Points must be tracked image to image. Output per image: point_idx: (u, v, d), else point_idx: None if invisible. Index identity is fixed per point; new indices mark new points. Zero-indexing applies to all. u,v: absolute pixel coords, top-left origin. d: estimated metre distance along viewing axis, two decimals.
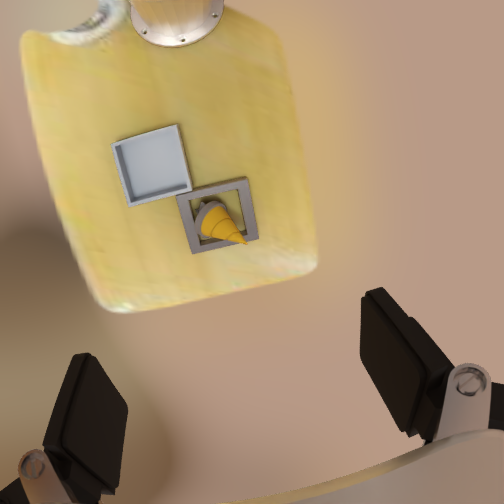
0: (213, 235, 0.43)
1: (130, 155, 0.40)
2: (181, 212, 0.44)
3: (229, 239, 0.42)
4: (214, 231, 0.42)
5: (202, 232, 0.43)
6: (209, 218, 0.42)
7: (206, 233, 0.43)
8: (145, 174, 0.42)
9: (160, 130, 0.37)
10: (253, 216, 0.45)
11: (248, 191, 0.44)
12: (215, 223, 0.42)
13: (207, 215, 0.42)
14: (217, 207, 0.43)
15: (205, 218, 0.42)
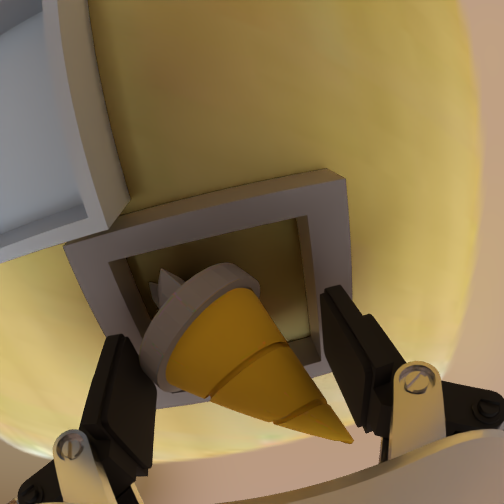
0: (216, 403, 0.10)
1: None
2: (93, 303, 0.11)
3: (282, 425, 0.09)
4: (221, 399, 0.09)
5: (174, 386, 0.10)
6: (196, 352, 0.09)
7: (189, 392, 0.10)
8: None
9: None
10: None
11: (344, 226, 0.11)
12: (223, 373, 0.09)
13: (184, 337, 0.09)
14: (228, 297, 0.10)
15: (178, 351, 0.09)
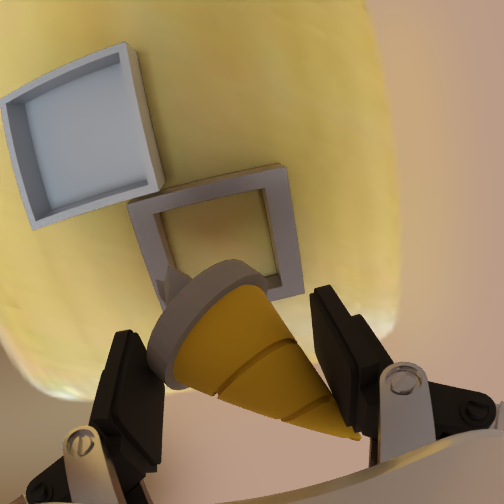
0: (224, 400, 0.10)
1: (42, 123, 0.16)
2: (140, 240, 0.19)
3: (290, 422, 0.09)
4: (228, 396, 0.09)
5: (182, 383, 0.11)
6: (203, 349, 0.09)
7: None
8: (68, 160, 0.18)
9: (91, 57, 0.13)
10: (296, 248, 0.21)
11: (287, 194, 0.20)
12: (231, 370, 0.09)
13: (192, 334, 0.09)
14: (236, 294, 0.10)
15: (186, 348, 0.09)
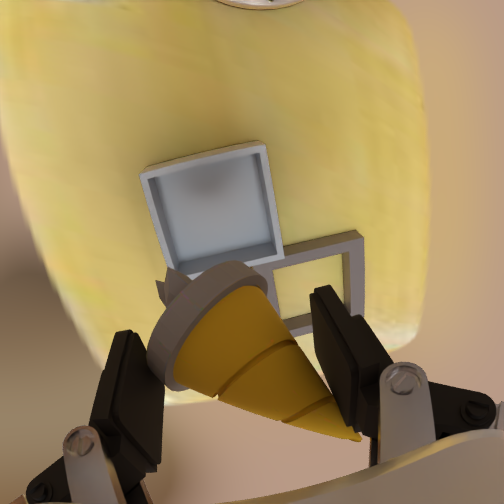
0: (224, 401, 0.10)
1: (172, 192, 0.24)
2: None
3: (290, 424, 0.09)
4: (229, 398, 0.09)
5: (182, 385, 0.10)
6: (203, 351, 0.09)
7: (197, 391, 0.10)
8: (199, 225, 0.26)
9: (235, 153, 0.21)
10: (363, 289, 0.29)
11: (362, 254, 0.28)
12: (231, 372, 0.09)
13: (191, 336, 0.09)
14: (236, 295, 0.10)
15: (186, 350, 0.09)
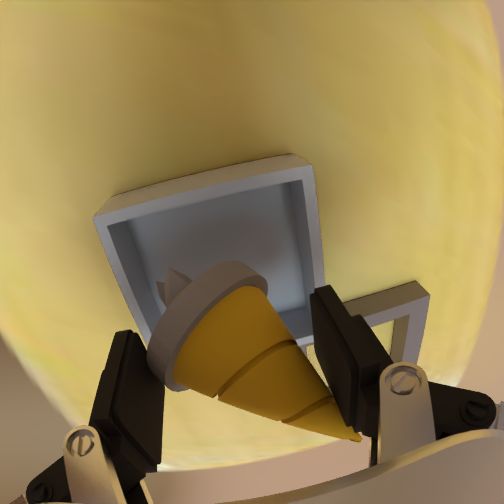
0: (224, 402, 0.10)
1: (154, 238, 0.15)
2: None
3: (290, 424, 0.09)
4: (229, 398, 0.09)
5: (182, 385, 0.10)
6: (204, 351, 0.09)
7: (197, 391, 0.10)
8: None
9: (260, 180, 0.12)
10: (417, 354, 0.20)
11: (424, 316, 0.19)
12: (231, 372, 0.09)
13: (192, 336, 0.09)
14: (236, 295, 0.10)
15: (186, 350, 0.09)
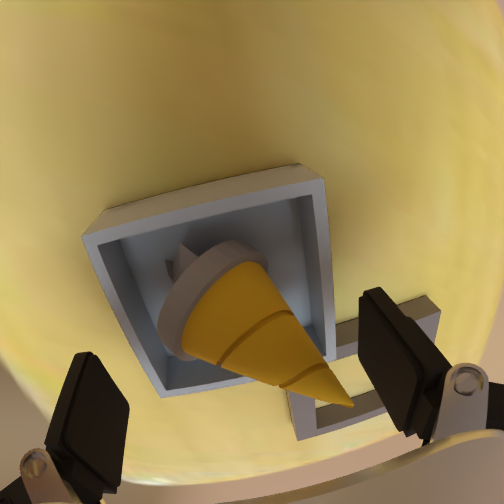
0: (227, 368, 0.11)
1: (150, 256, 0.14)
2: None
3: (288, 389, 0.11)
4: (232, 362, 0.11)
5: (188, 354, 0.12)
6: (211, 316, 0.10)
7: (202, 359, 0.12)
8: None
9: (266, 195, 0.11)
10: None
11: (434, 332, 0.17)
12: (236, 336, 0.10)
13: (201, 303, 0.10)
14: (241, 268, 0.11)
15: (195, 316, 0.10)
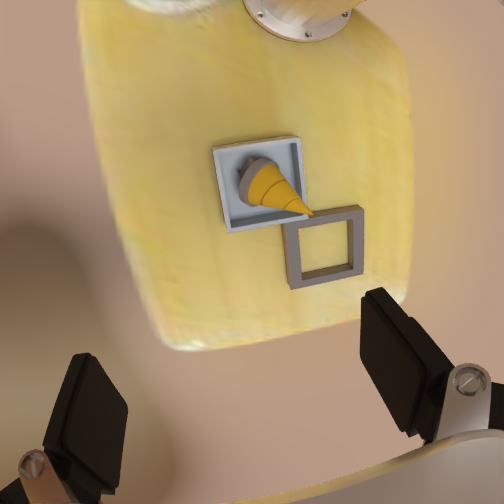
0: (264, 202, 0.31)
1: (230, 167, 0.34)
2: (288, 242, 0.37)
3: (287, 207, 0.31)
4: (267, 195, 0.31)
5: (249, 197, 0.32)
6: (261, 178, 0.30)
7: (254, 199, 0.31)
8: None
9: (280, 141, 0.31)
10: (362, 250, 0.39)
11: (362, 222, 0.37)
12: (269, 185, 0.30)
13: (258, 173, 0.30)
14: (271, 165, 0.31)
15: (256, 177, 0.30)
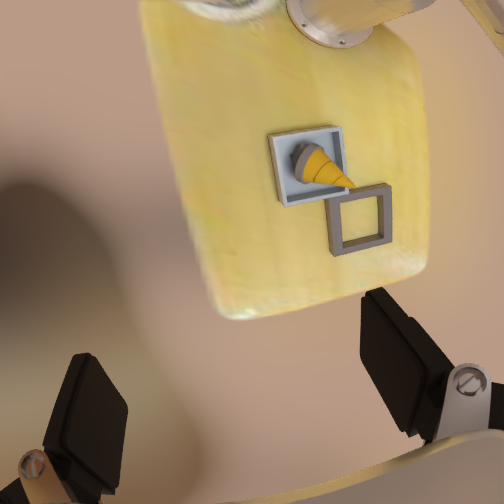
0: (317, 179, 0.37)
1: (284, 152, 0.40)
2: (331, 214, 0.43)
3: (336, 183, 0.36)
4: (320, 173, 0.36)
5: (304, 176, 0.38)
6: (314, 159, 0.36)
7: (308, 177, 0.37)
8: None
9: (326, 130, 0.37)
10: (391, 221, 0.45)
11: (390, 197, 0.43)
12: (321, 165, 0.36)
13: (311, 155, 0.36)
14: (320, 149, 0.37)
15: (310, 159, 0.36)
